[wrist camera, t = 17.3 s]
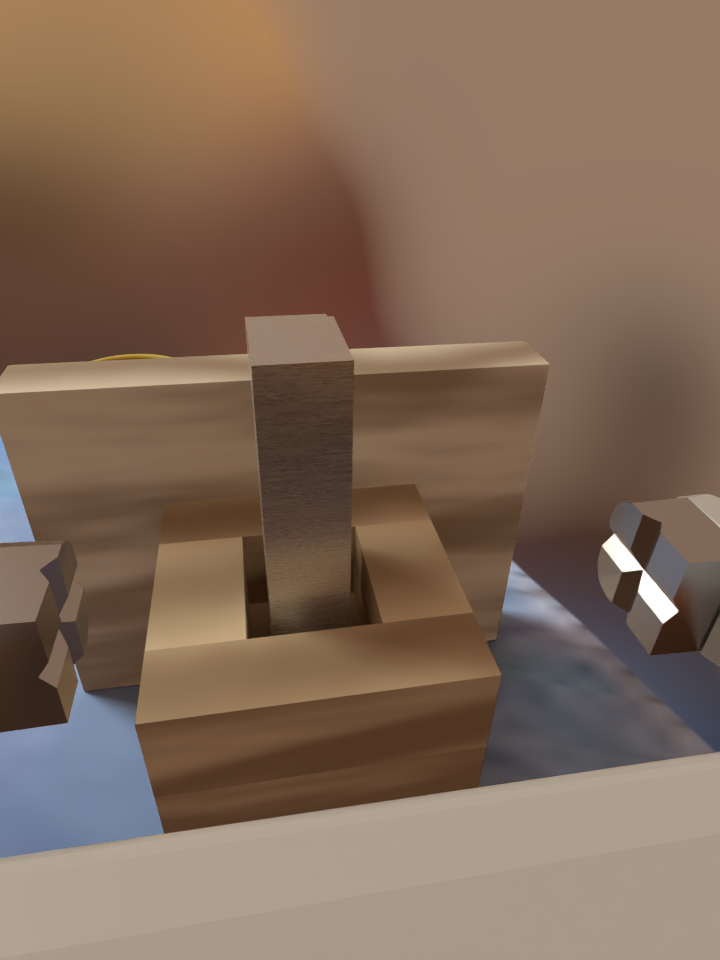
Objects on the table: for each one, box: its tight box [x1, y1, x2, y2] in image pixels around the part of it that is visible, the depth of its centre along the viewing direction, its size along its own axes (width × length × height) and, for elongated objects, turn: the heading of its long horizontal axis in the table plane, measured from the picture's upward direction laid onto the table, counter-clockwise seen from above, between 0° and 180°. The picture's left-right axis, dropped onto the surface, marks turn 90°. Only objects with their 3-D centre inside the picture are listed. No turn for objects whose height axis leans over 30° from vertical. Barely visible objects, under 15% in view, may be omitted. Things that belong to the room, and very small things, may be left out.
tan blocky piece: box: [0, 341, 550, 834], centre depth 28 cm, size 15×24×18 cm, turn 100°
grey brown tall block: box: [245, 314, 354, 636], centre depth 25 cm, size 6×3×14 cm, turn 11°
